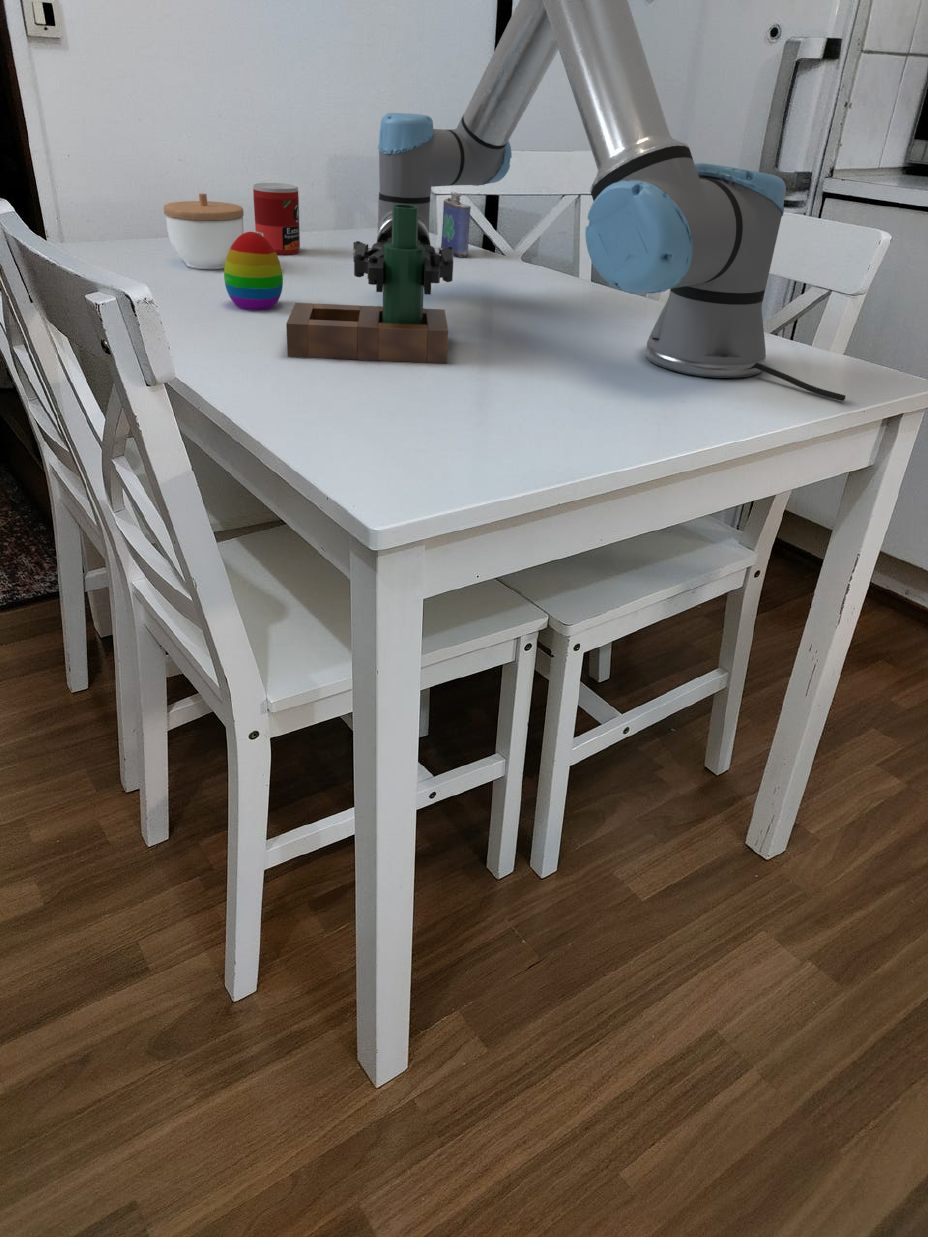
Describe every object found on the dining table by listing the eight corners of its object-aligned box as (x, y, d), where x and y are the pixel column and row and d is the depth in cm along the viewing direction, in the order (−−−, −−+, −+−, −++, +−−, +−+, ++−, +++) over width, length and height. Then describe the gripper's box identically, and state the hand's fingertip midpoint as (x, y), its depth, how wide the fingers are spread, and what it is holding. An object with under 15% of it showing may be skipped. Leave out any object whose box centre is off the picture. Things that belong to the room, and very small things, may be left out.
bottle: (429, 346, 120) (435, 207, 111) (401, 353, 116) (405, 210, 108) (401, 338, 122) (405, 201, 114) (374, 344, 119) (375, 204, 110)
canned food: (291, 256, 167) (289, 189, 161) (249, 252, 168) (245, 185, 162) (306, 249, 173) (304, 185, 168) (265, 245, 175) (262, 181, 169)
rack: (443, 339, 125) (444, 309, 123) (446, 363, 115) (448, 330, 113) (296, 333, 123) (295, 302, 121) (287, 356, 114) (286, 323, 112)
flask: (470, 257, 176) (473, 195, 171) (456, 257, 175) (459, 195, 170) (450, 248, 183) (452, 188, 178) (436, 248, 182) (438, 188, 177)
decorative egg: (225, 312, 131) (220, 235, 125) (226, 298, 137) (221, 225, 132) (285, 312, 132) (281, 237, 127) (283, 299, 139) (280, 227, 134)
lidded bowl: (230, 275, 151) (225, 201, 145) (156, 268, 152) (148, 195, 146) (257, 261, 161) (253, 192, 156) (187, 255, 163) (181, 186, 157)
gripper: (466, 276, 133) (477, 317, 113) (338, 270, 131) (327, 310, 111) (469, 220, 129) (482, 251, 109) (338, 212, 127) (326, 243, 107)
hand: (403, 281), depth 110 cm, fingers closed on bottle, 5 cm apart
